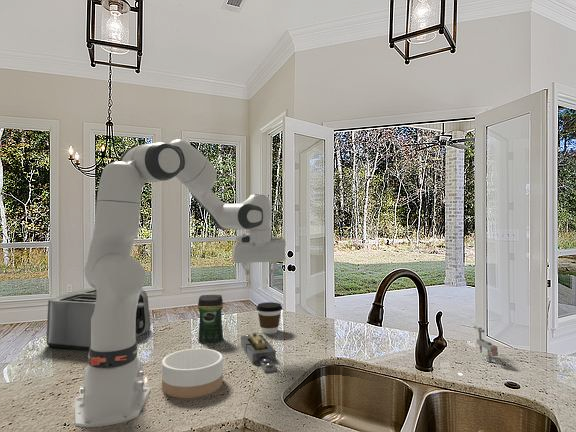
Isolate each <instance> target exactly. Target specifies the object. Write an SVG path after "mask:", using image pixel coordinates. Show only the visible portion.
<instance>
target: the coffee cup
mask: <svg viewBox="0 0 576 432" xmlns="http://www.w3.org/2000/svg"><path fill="white" fill-rule="evenodd" d="M256 310H257V311H258V321H259V327H260V331H261V333H263V334H266V335H272V334H276V333H277V332H278V328H279V325H280V319H281V311H283V306H282V304H281V303H278V302H271V301H270V302H267V301H266V302H260V303H258V304H257V306H256Z"/></svg>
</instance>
